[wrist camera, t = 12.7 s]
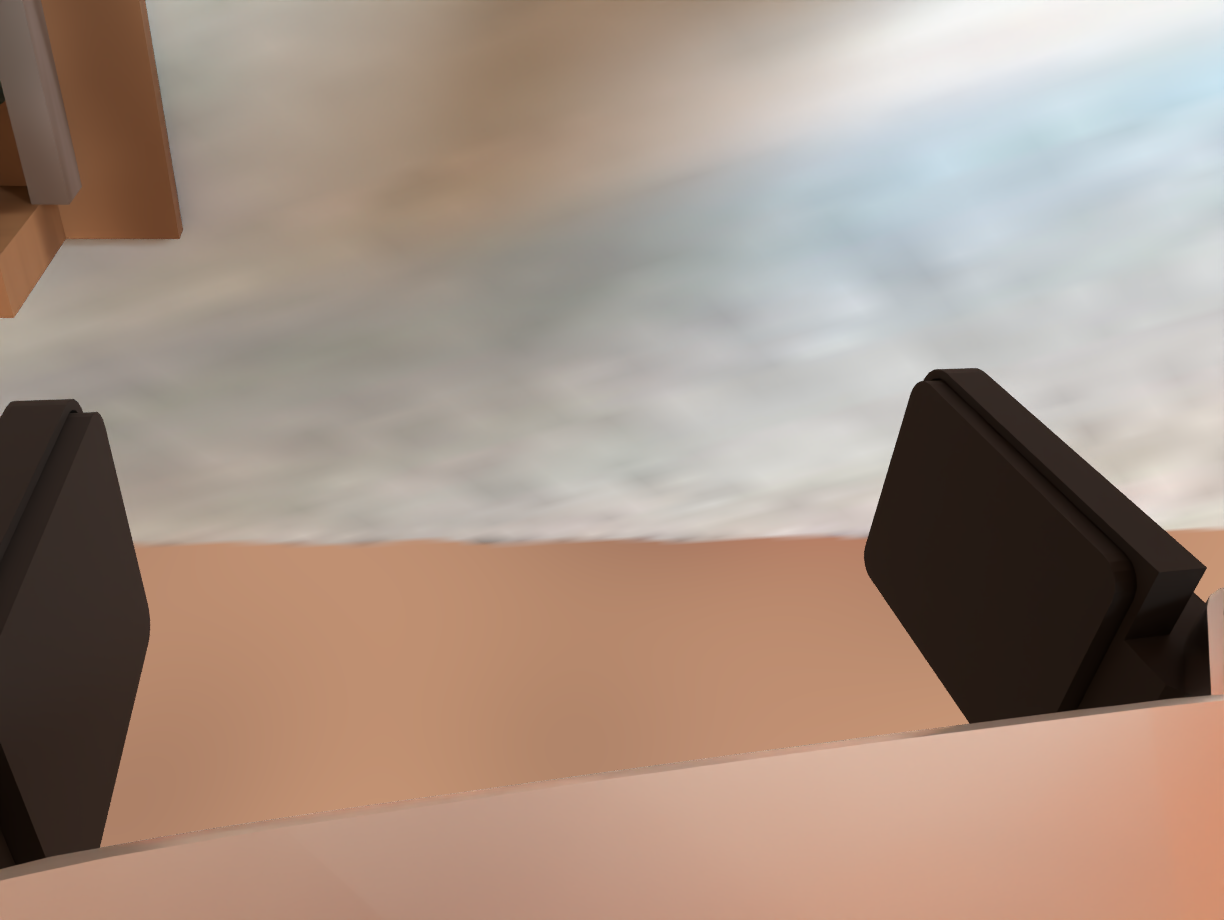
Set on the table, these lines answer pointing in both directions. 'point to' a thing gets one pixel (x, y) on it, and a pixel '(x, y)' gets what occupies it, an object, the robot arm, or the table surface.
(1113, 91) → the table surface
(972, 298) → the table surface
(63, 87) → the brown wooden holder
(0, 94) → the door panel
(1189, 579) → the robot arm
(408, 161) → the table surface
